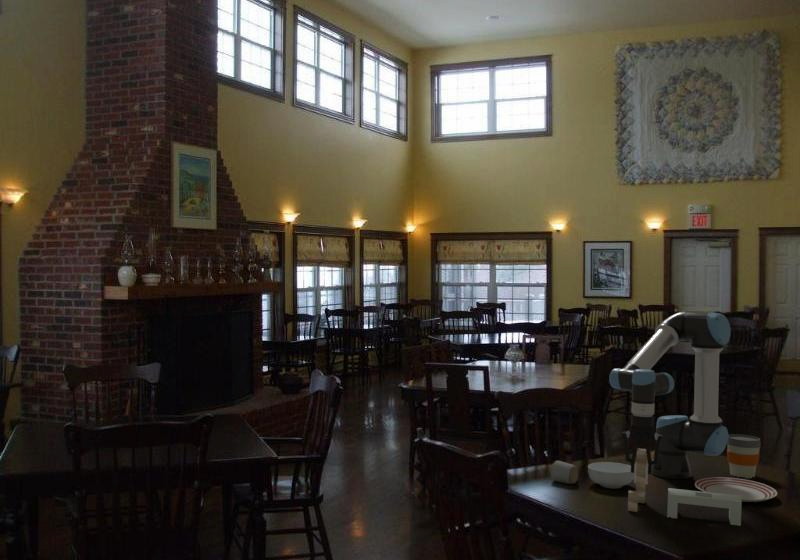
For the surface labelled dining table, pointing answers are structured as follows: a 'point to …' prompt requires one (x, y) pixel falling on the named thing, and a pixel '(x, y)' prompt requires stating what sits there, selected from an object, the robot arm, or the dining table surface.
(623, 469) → the cereal bowl
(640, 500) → the tall pin
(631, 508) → the short pin
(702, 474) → the dining table surface
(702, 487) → the dinner plate
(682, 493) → the bridge
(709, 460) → the dining table surface
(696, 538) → the dining table surface
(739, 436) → the reusable coffee cup
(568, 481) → the ceramic mug
